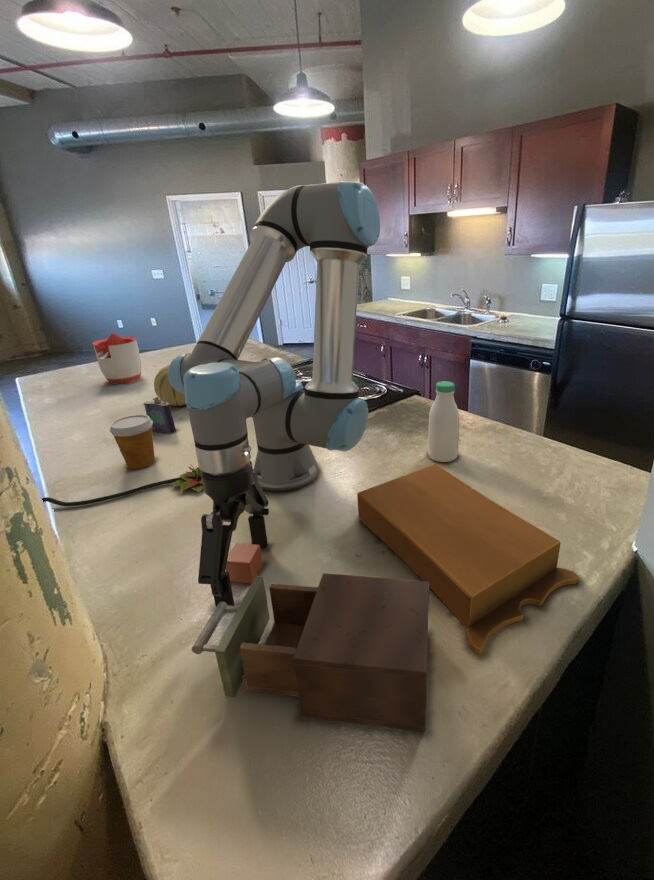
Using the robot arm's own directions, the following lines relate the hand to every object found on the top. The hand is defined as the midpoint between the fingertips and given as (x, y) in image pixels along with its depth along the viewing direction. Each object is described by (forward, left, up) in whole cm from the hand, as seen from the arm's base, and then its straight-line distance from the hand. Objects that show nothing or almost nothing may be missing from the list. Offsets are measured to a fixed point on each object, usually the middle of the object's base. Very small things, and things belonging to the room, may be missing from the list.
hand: (244, 574), depth 71 cm
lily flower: (-24, +27, 0) cm, 36 cm away
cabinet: (+24, -15, 0) cm, 28 cm away
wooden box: (+36, +10, 0) cm, 37 cm away
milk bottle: (+34, +45, 0) cm, 57 cm away
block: (0, 0, 0) cm, 0 cm away
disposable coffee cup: (-44, +34, 0) cm, 56 cm away
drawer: (+11, -15, +1) cm, 19 cm away
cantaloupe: (-58, +75, 0) cm, 95 cm away
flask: (-51, +54, 0) cm, 74 cm away
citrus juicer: (-99, +99, 0) cm, 140 cm away
